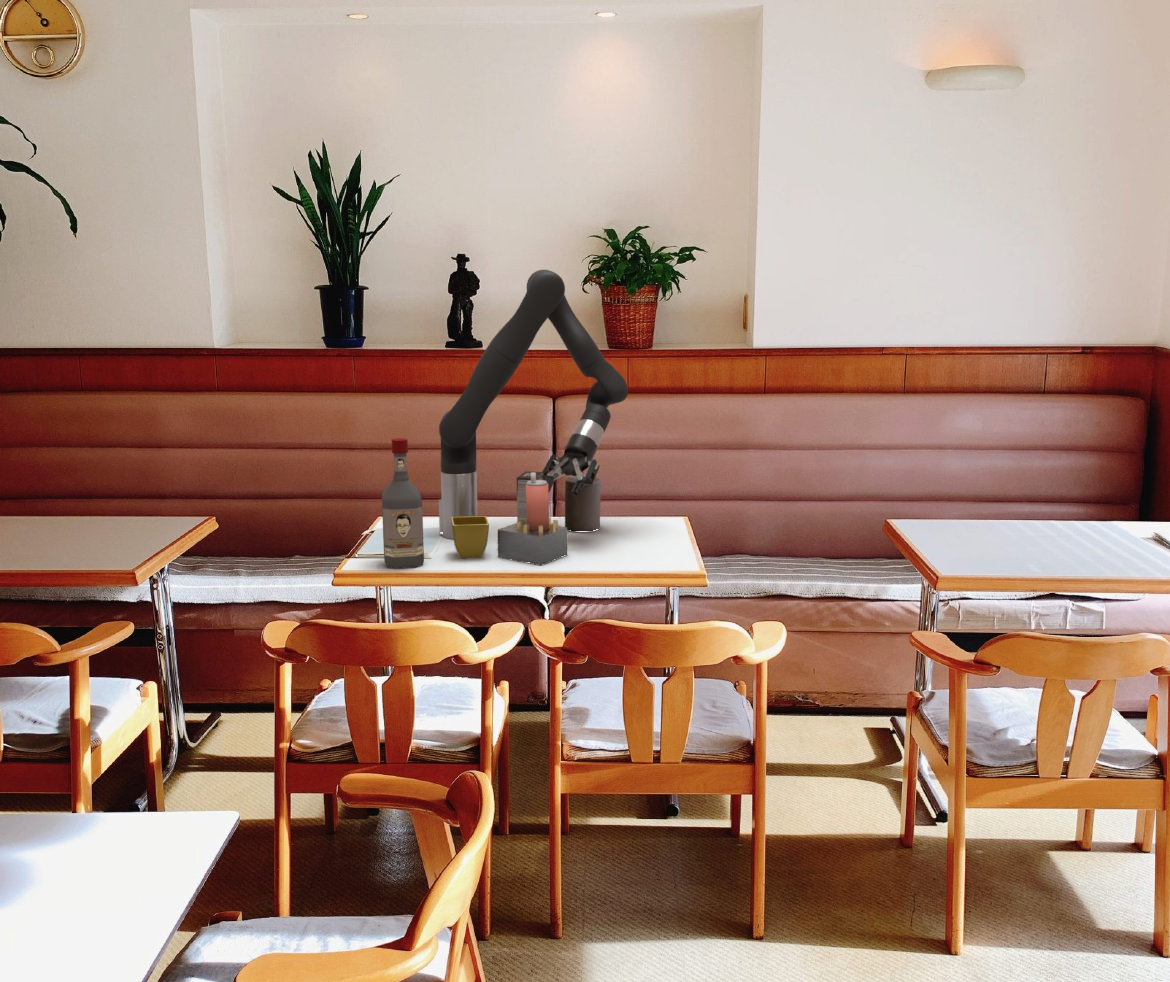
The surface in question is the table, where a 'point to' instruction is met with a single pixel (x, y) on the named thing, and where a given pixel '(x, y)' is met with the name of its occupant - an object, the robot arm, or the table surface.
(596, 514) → the pillar candle
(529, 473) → the coffee box
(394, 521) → the liquor
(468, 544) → the flower pot
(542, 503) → the spout can
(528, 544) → the grey block
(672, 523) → the table surface
